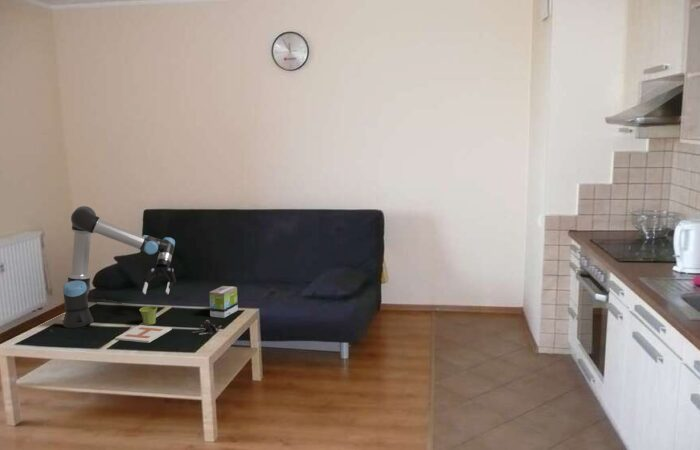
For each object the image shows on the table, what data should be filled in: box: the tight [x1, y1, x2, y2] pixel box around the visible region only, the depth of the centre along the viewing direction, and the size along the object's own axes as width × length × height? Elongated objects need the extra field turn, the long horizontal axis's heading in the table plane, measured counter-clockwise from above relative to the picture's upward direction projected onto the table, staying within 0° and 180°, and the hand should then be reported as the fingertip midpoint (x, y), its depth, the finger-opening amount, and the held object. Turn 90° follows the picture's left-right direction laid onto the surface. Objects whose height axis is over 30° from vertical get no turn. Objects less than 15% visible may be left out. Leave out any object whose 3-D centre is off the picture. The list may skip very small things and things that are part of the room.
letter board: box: [114, 324, 173, 344], centre depth 298 cm, size 20×20×1 cm
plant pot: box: [139, 305, 158, 326], centre depth 315 cm, size 9×9×9 cm
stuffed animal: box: [191, 319, 222, 335], centre depth 302 cm, size 12×10×12 cm
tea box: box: [209, 285, 239, 319], centre depth 330 cm, size 15×10×15 cm
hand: (155, 293), depth 324 cm, fingers open, 13 cm apart
